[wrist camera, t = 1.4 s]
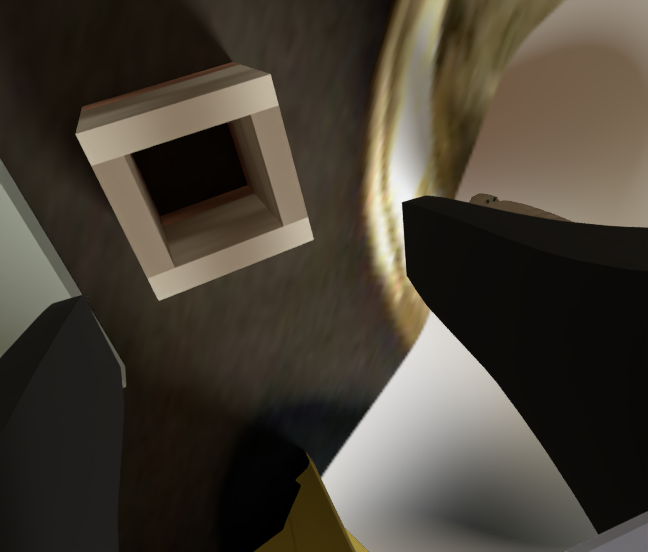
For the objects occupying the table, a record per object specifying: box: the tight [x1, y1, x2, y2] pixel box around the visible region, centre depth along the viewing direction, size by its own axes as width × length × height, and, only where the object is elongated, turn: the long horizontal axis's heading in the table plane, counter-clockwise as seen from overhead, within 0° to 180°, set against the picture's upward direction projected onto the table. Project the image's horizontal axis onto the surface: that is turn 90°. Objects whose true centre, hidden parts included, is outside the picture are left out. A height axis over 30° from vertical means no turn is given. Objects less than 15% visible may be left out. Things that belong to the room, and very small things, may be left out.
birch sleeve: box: [76, 62, 314, 301], centre depth 17 cm, size 6×6×5 cm
